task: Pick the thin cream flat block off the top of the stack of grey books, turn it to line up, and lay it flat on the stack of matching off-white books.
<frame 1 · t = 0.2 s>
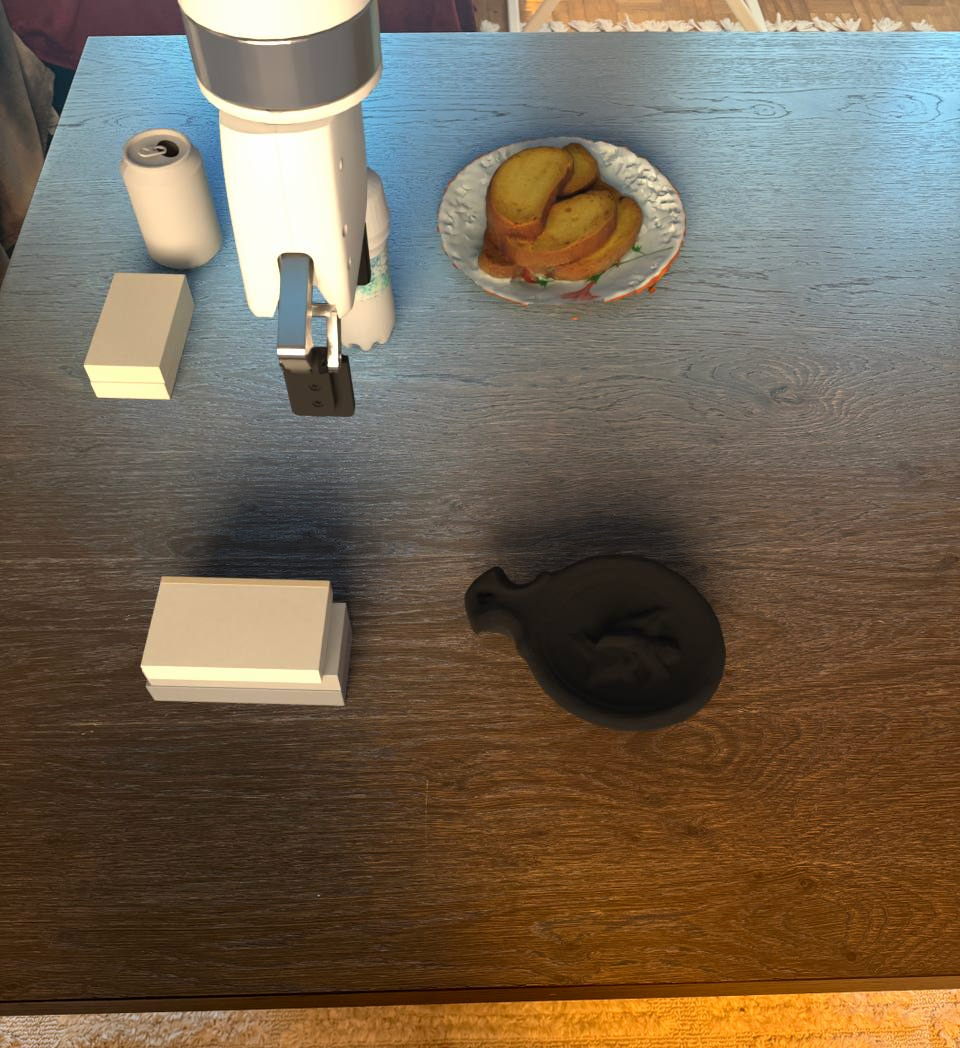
hand: (334, 343, 52), 28 cm above the table, tool pointing down, fingers open, 9 cm apart
bottle: (364, 334, 92), on the table
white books: (147, 350, 90), on the table
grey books: (255, 666, 72), on the table
oil lamp: (586, 652, 74), on the table
food on plate: (559, 235, 100), on the table
cream flat block: (243, 635, 68), point 5 cm above the table, touching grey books
can: (187, 251, 98), on the table
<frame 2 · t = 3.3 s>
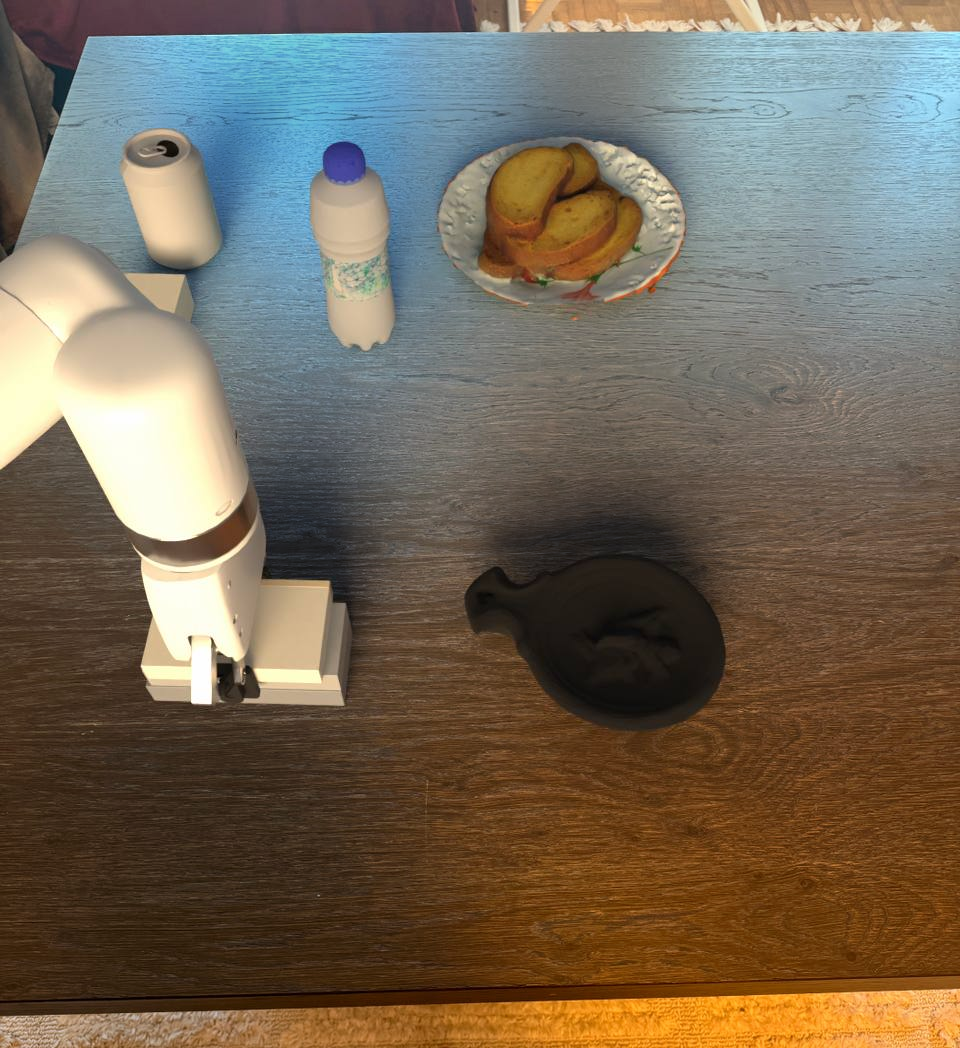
hand: (246, 643, 69), 4 cm above the table, tool pointing down, fingers closed on cream flat block, 7 cm apart
cream flat block: (243, 635, 68), point 5 cm above the table, touching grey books, gripper
everything else where it was.
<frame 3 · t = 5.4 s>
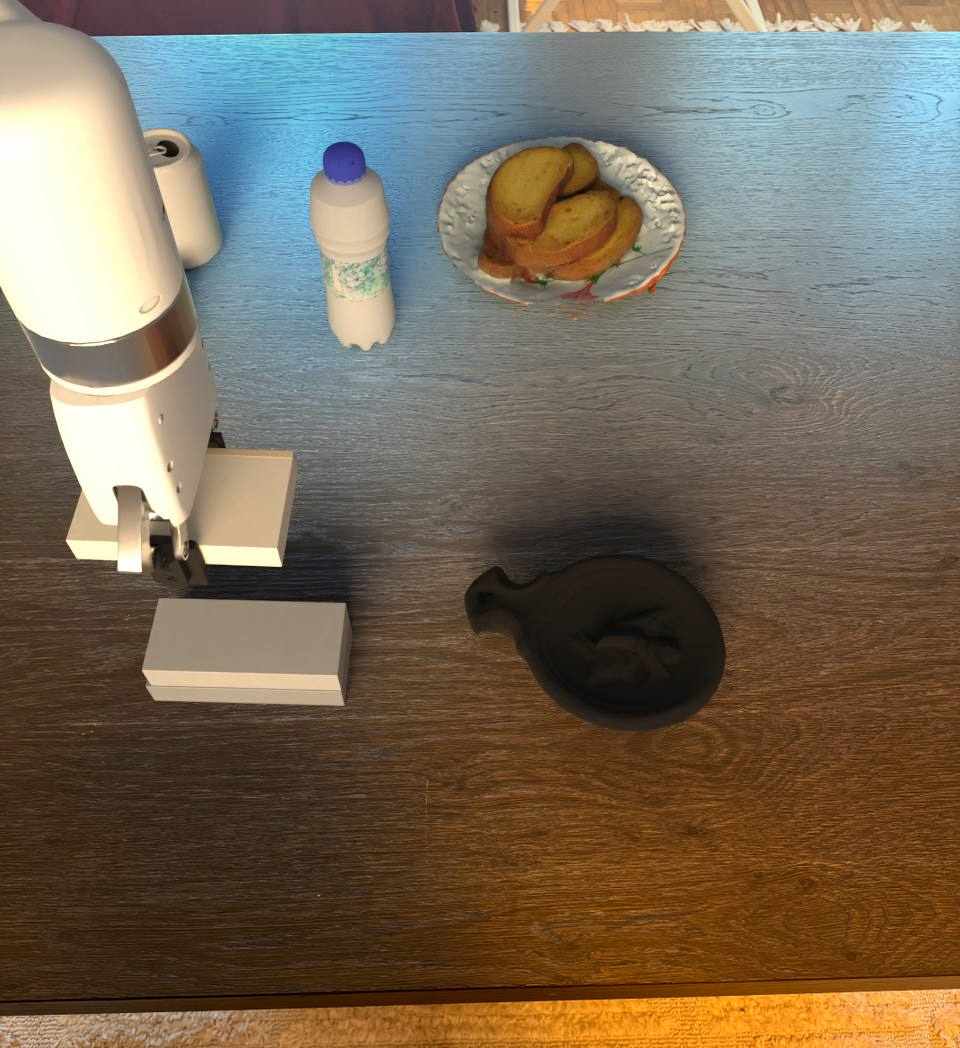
hand: (195, 523, 59), 17 cm above the table, tool pointing down, fingers closed on cream flat block, 7 cm apart
cream flat block: (191, 513, 58), point 18 cm above the table, touching gripper
everything else where it was.
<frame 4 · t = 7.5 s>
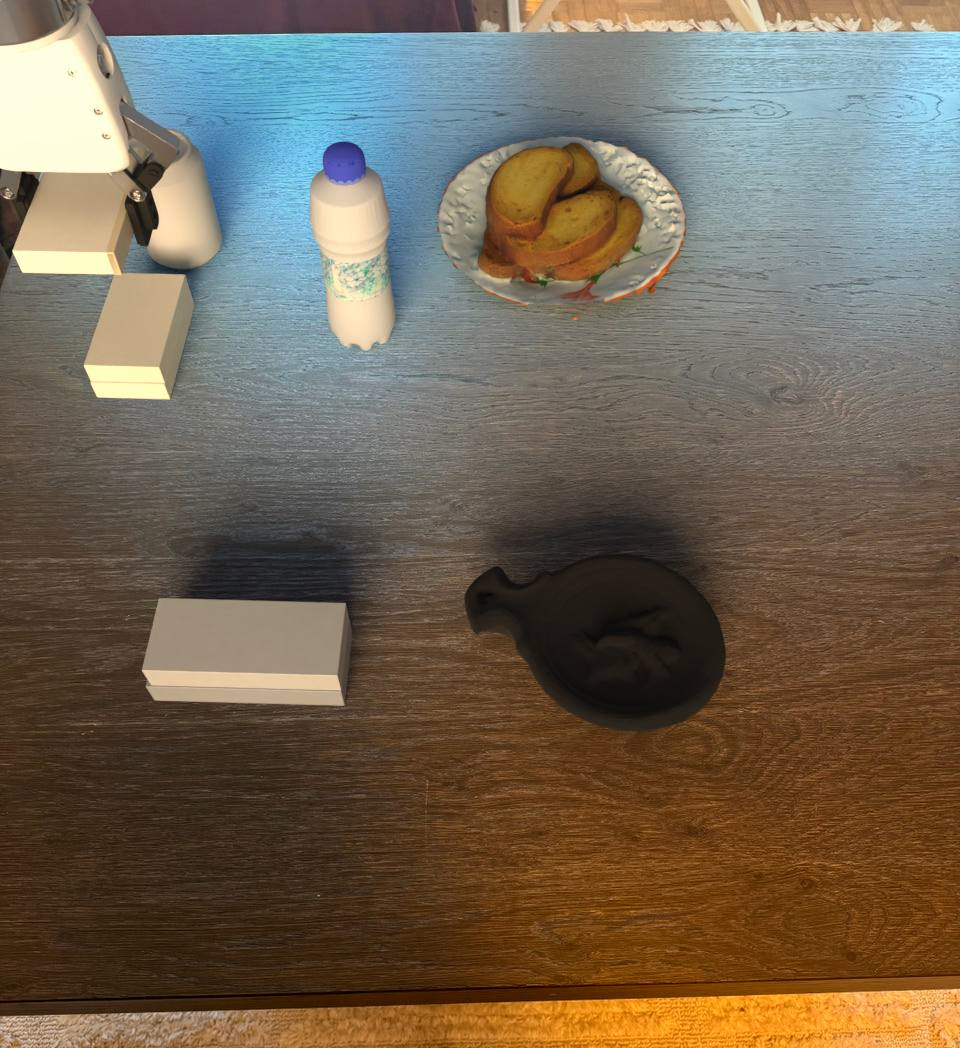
hand: (95, 231, 73), 17 cm above the table, tool pointing down, fingers closed on cream flat block, 7 cm apart
cream flat block: (90, 219, 72), point 19 cm above the table, touching gripper
everything else where it was.
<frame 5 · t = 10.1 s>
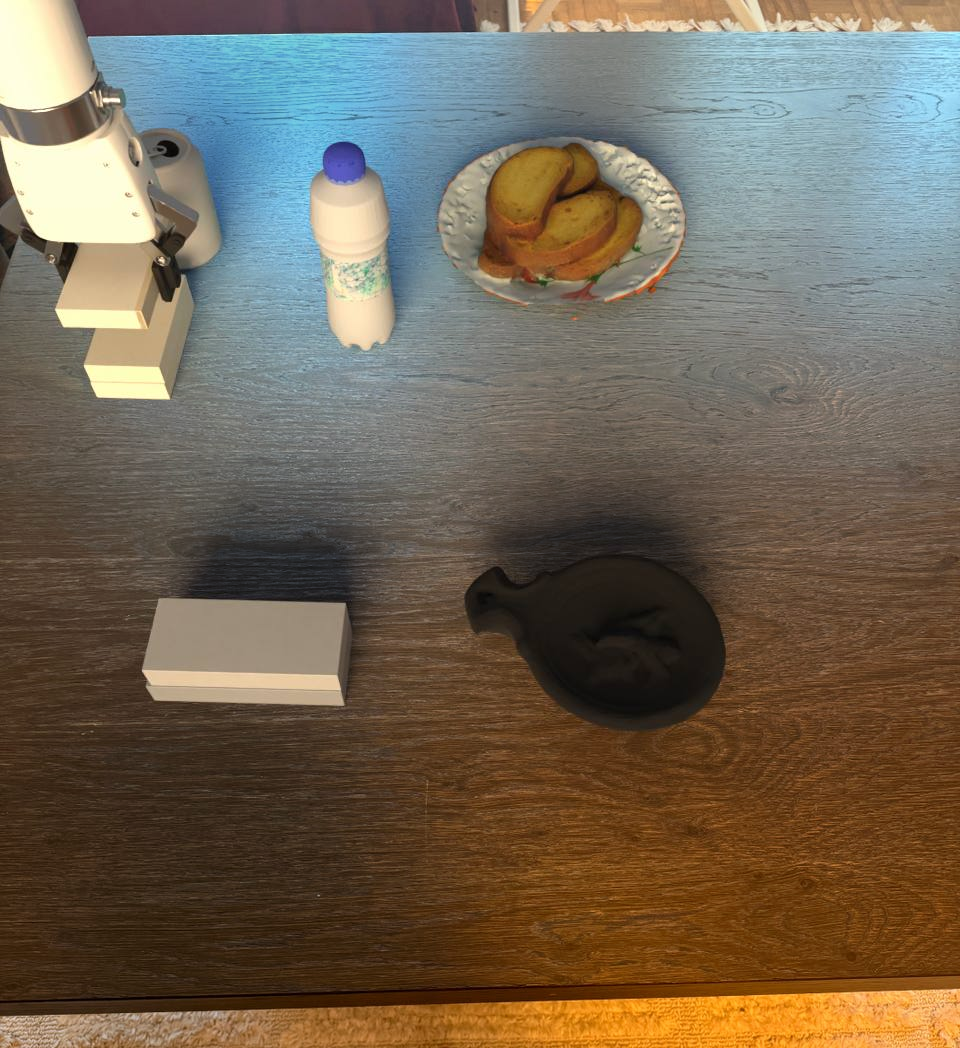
hand: (126, 289, 84), 8 cm above the table, tool pointing down, fingers closed on cream flat block, 7 cm apart
cream flat block: (122, 278, 83), point 9 cm above the table, touching gripper
everything else where it was.
when the fingers open (3 cm above the table, at t = 11.8 s): cream flat block stays where it is, resting on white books.
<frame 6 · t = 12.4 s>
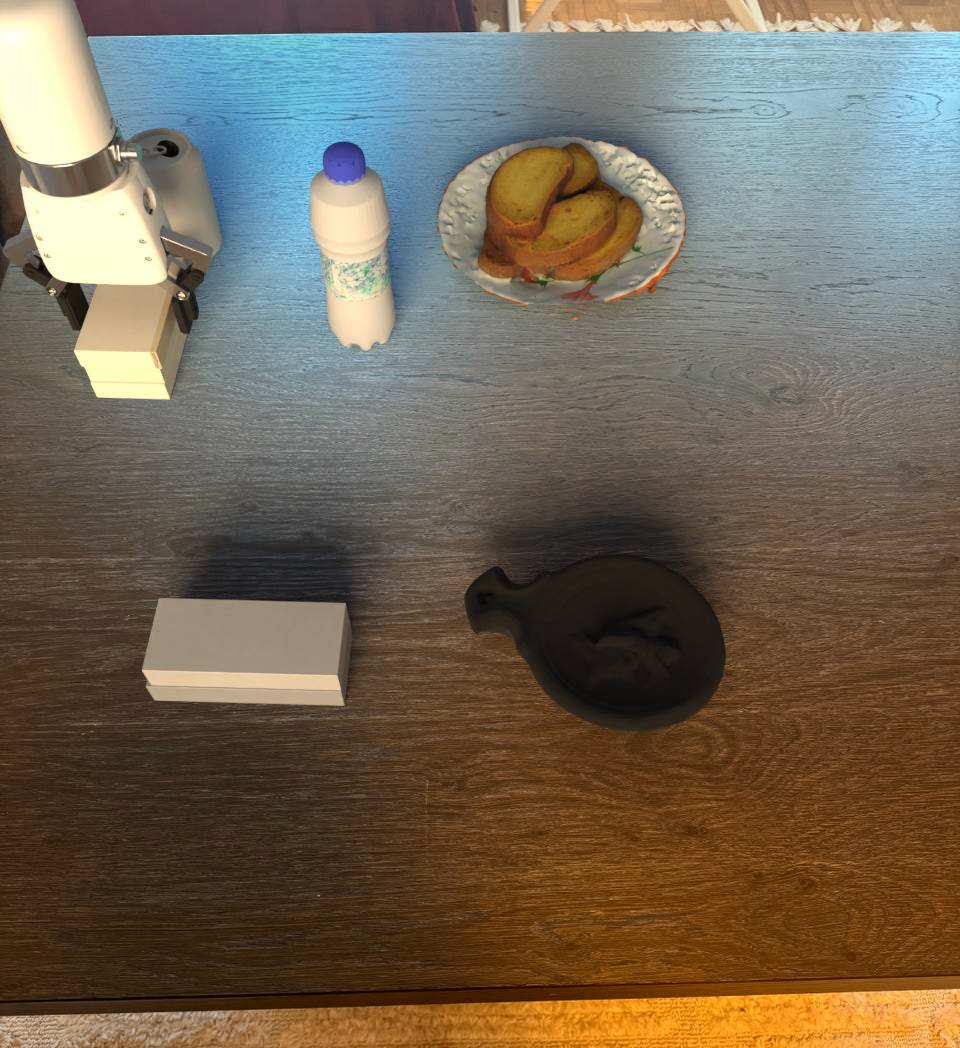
hand: (135, 321, 87), 4 cm above the table, tool pointing down, fingers open, 9 cm apart
cream flat block: (136, 318, 87), point 4 cm above the table, touching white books
everything else where it was.
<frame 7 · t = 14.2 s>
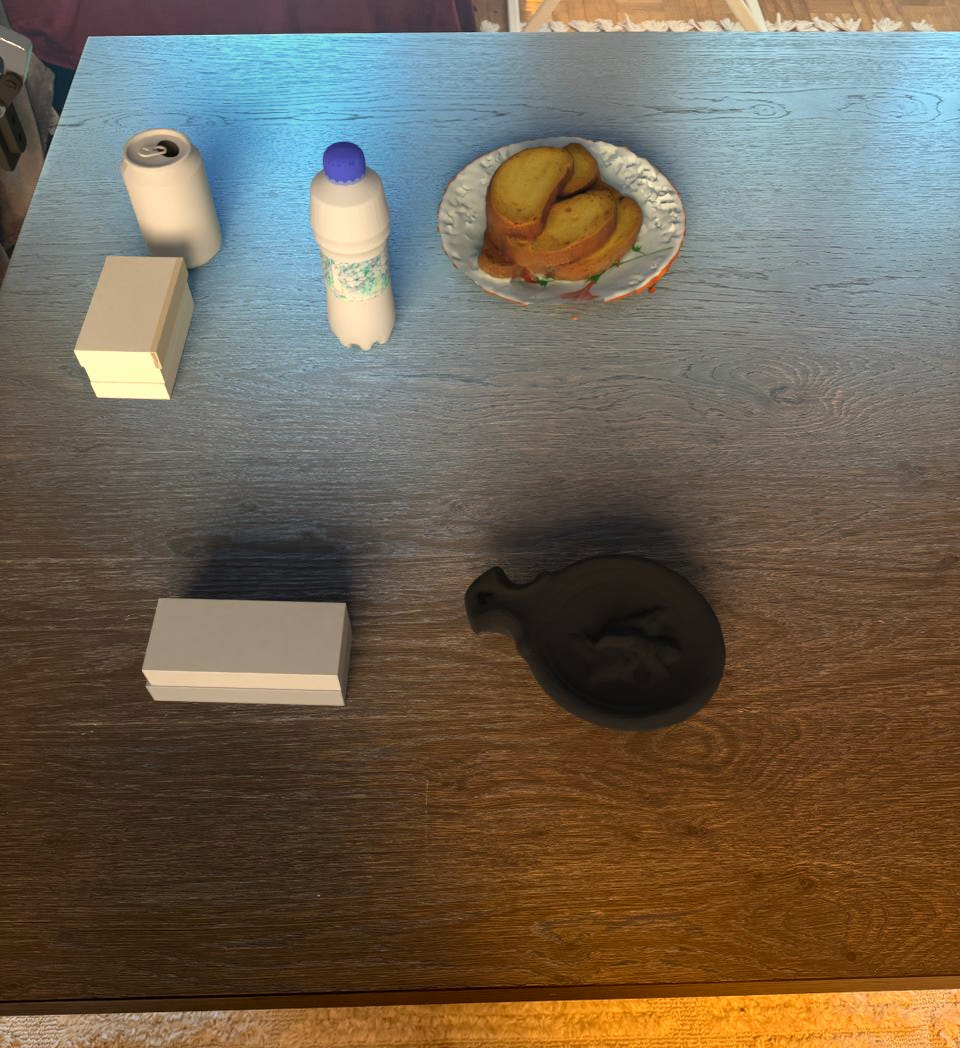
nothing on the table moved.
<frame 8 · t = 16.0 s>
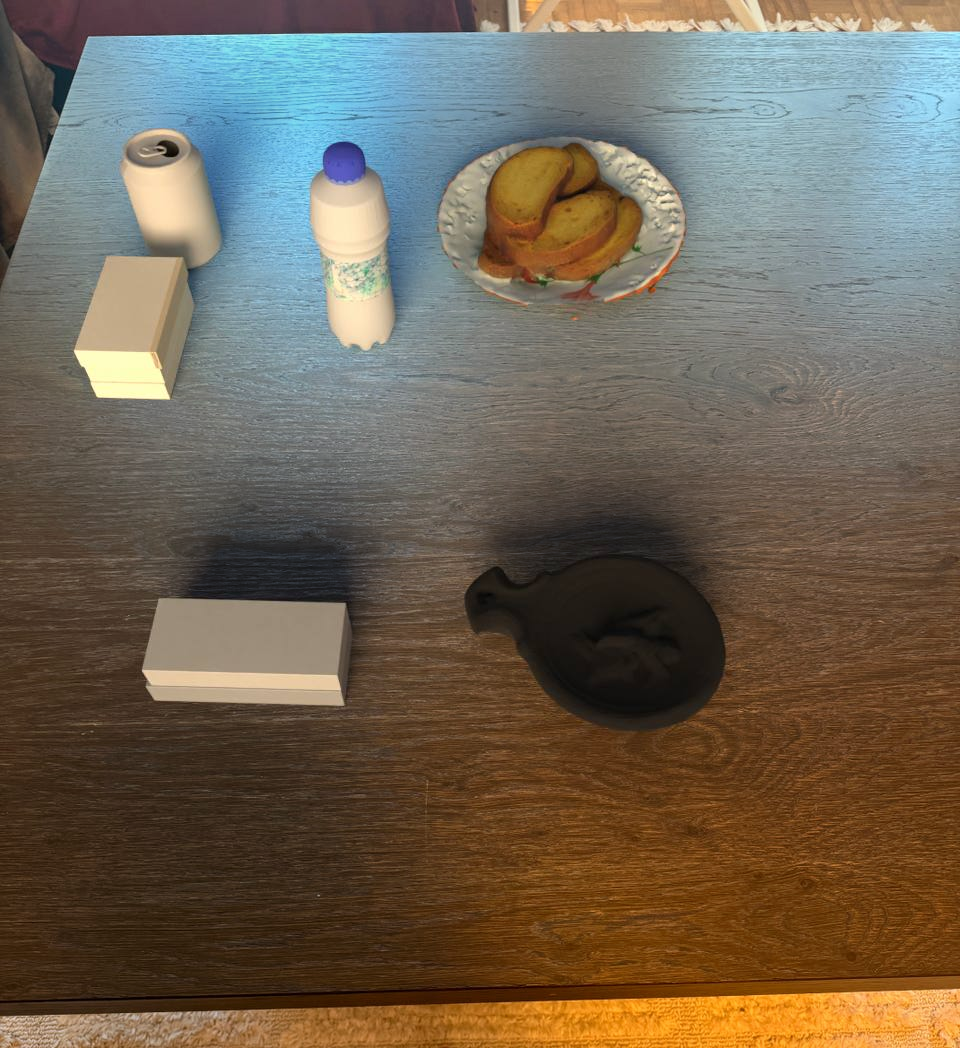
nothing on the table moved.
at the end: cream flat block 0.1 cm off-centre on the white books, point 4.0 cm above the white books's base; cream flat block tilted 0°; the gripper is holding nothing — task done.
